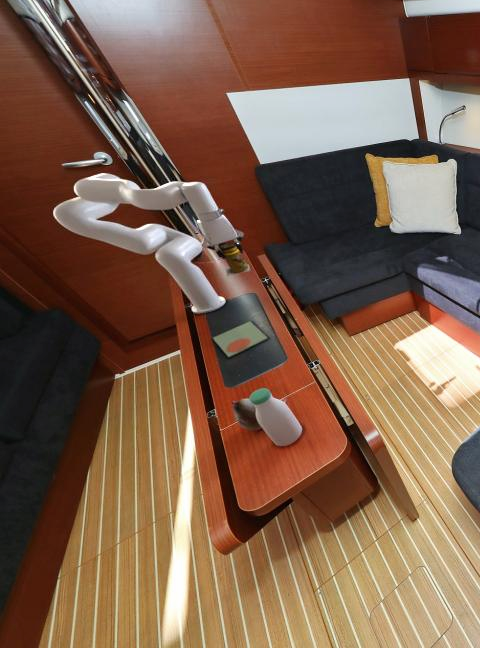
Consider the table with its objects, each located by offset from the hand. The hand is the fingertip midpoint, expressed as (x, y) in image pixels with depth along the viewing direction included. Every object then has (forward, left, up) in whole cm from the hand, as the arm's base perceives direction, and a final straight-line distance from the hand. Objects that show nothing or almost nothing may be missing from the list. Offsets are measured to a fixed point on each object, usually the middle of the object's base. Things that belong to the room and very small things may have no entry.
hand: (232, 254), depth 141 cm
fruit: (+73, -27, -26) cm, 82 cm away
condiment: (0, -1, -8) cm, 8 cm away
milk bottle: (+85, -24, -26) cm, 92 cm away
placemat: (+23, -16, -25) cm, 38 cm away
